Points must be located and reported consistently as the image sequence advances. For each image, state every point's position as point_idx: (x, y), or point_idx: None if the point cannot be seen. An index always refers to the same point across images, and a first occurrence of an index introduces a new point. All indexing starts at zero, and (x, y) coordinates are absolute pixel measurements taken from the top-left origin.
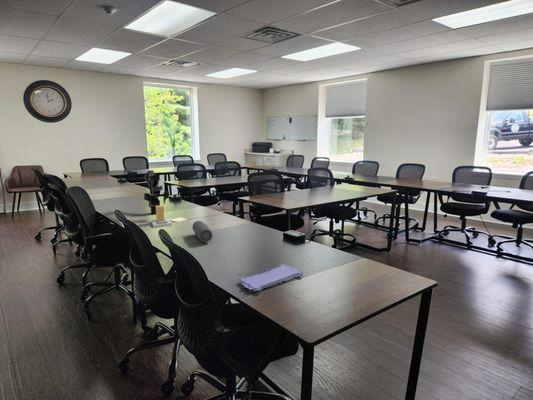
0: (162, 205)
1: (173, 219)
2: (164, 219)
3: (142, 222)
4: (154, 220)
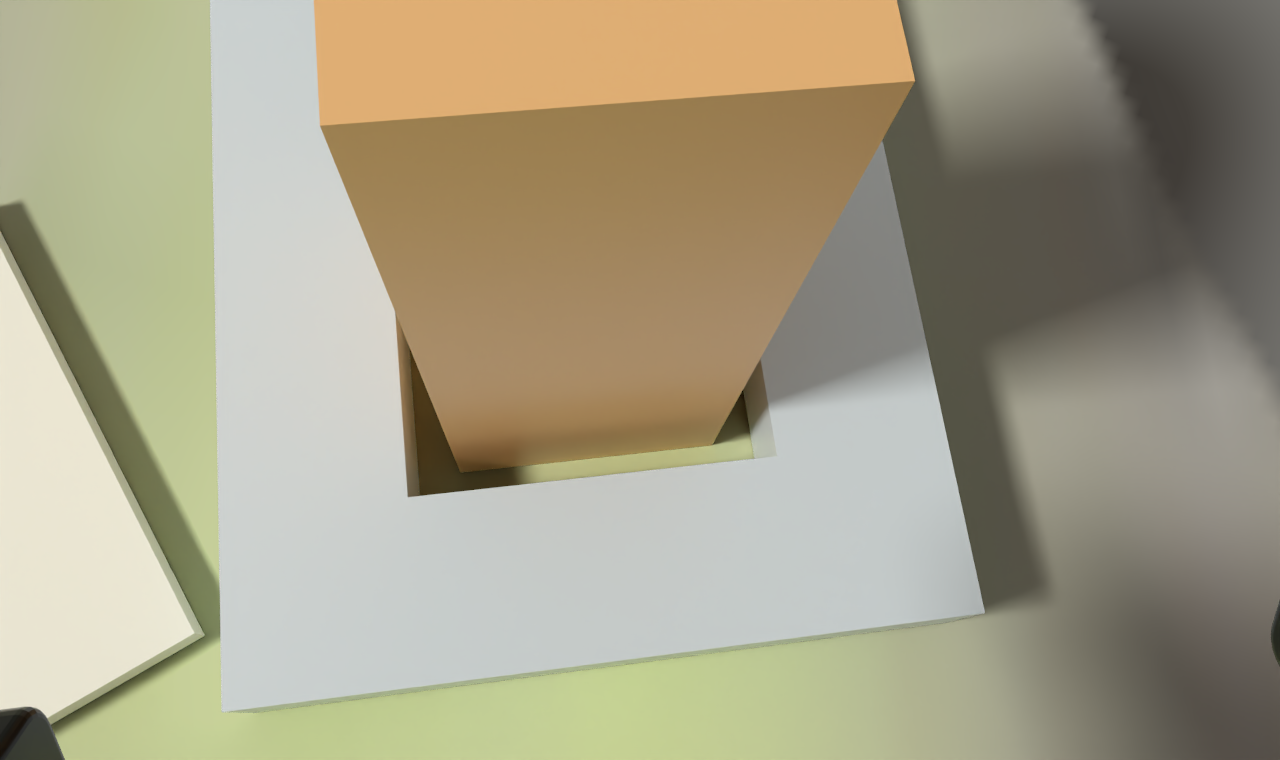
0: (324, 96)
1: (10, 600)
2: (402, 407)
3: (1233, 608)
4: (804, 348)
